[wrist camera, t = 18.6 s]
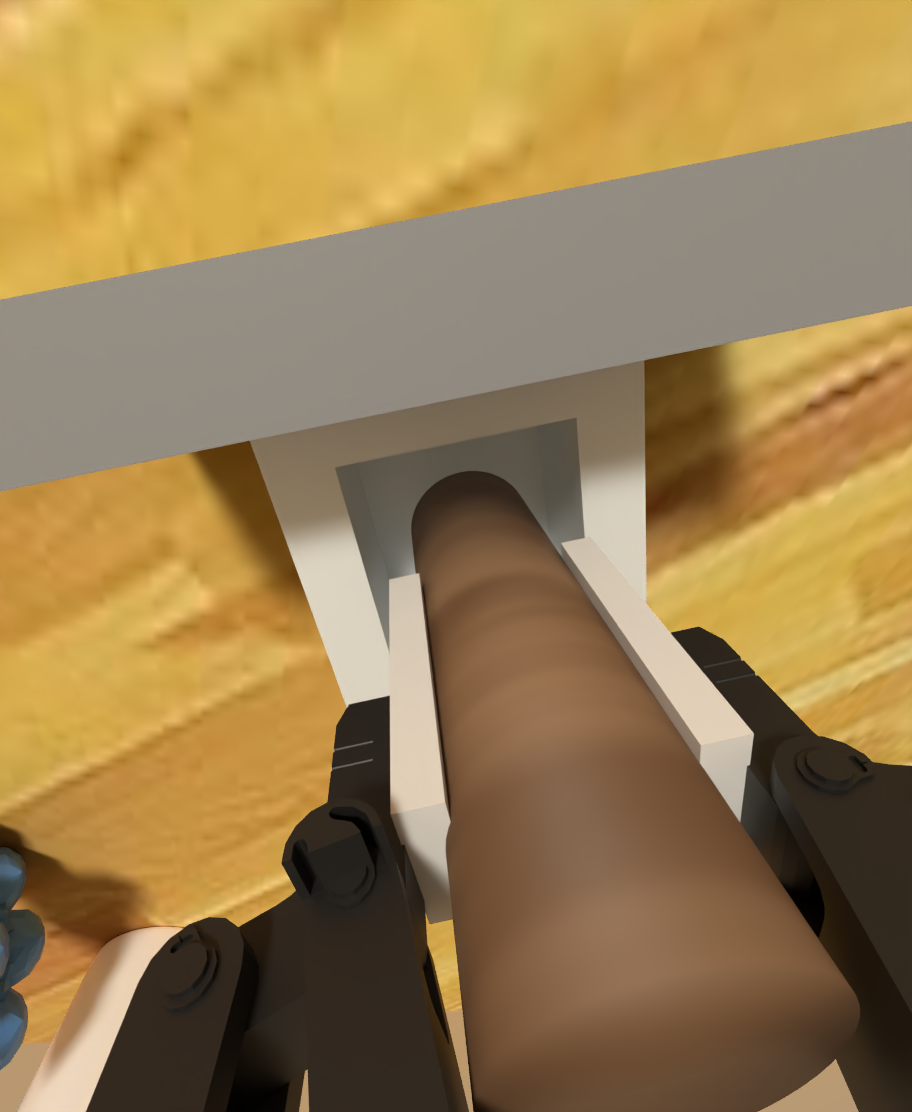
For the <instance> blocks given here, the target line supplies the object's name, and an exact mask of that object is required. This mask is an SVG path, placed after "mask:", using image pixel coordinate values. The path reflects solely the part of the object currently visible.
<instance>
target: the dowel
mask: <svg viewBox="0 0 912 1112" xmlns="http://www.w3.org/2000/svg"><path fill="white" fill-rule="evenodd" d="M411 535H412V544H413V554H414V563H415V572H416V574H418V573H419V575H420V579H421V583H422V588H423V596H424V604H425V613H426V621H427V629H428V638H429V646H430V654H431V663H432V671H433V679H434V688H435V696H436V704H437V712H438V721H439V729H440V737H441V746H442V754H443V762H444V771H445V779H446V787H447V796H448V804H449V812H450V821H451V823H450V825H449V828H448V832H447V837H446V860H447V869H448V879H449V888H450V897H451V907H452V916H453V925H454V935H455V944H456V953H457V962H458V972H459V981H460V990H461V1000H462V1009H463V1017H464V1027H465V1037H466V1045H467V1055H468V1064H469V1073H470V1083H471V1092H472V1102H473V1111H474V1112H757V1111H760V1110H762V1109H764V1108H766V1107H768V1106H770V1105H772V1104H773V1103H775V1102H777V1101H779V1100H781V1099H783V1098H784V1097H786V1096H788V1095H789V1094H791V1093H792V1092H794V1091H796V1090H797V1089H799V1088H800V1087H802V1086H803V1085H805V1084H806V1083H808V1082H809V1081H810V1080H812V1079H813V1078H814V1077H816V1076H817V1075H818V1074H820V1073H821V1072H822V1071H823V1070H824V1069H825V1068H826V1067H827V1066H829V1065H830V1064H831V1063H832V1062H833V1061H834V1060H835V1059H836V1058H837V1057H838V1056H839V1055H840V1054H841V1053H842V1051H843V1050H844V1049H845V1047H846V1046H847V1045H848V1043H849V1042H850V1041H851V1039H852V1037H853V1035H854V1033H855V1031H856V1029H857V1026H858V1023H859V1019H860V1004H859V1002H858V999H857V996H856V994H855V993H854V991H853V990H852V988H851V987H850V985H849V984H848V982H847V981H846V979H845V978H844V976H843V975H842V973H841V972H840V970H839V969H838V967H837V966H836V964H835V963H834V961H833V960H832V958H831V957H830V955H829V954H828V953H827V951H826V950H825V948H824V947H823V945H822V944H821V942H820V941H819V939H818V938H817V936H816V935H815V933H814V932H813V930H812V929H811V927H810V926H809V924H808V923H807V921H806V920H805V918H804V917H803V915H802V914H801V912H800V911H799V909H798V908H797V906H796V905H795V903H794V902H793V900H792V899H791V897H790V896H789V894H788V893H787V891H786V890H785V889H784V887H783V886H782V884H781V883H780V881H779V880H778V878H777V877H776V875H775V874H774V872H773V871H772V869H771V868H770V866H769V865H768V863H767V862H766V860H765V859H764V857H763V856H762V854H761V853H760V851H759V850H758V848H757V847H756V845H755V844H754V842H753V841H752V839H751V838H750V836H749V835H748V833H747V832H746V830H745V829H744V828H743V826H742V825H741V823H740V822H739V820H738V819H737V817H736V816H735V814H734V813H733V811H732V810H731V808H730V807H729V805H728V804H727V802H726V801H725V799H724V798H723V796H722V795H721V793H720V792H719V790H718V789H717V787H716V786H715V784H714V783H713V781H712V780H711V778H710V777H709V775H708V774H707V772H706V771H705V770H704V768H703V767H702V766H701V764H700V763H699V761H698V760H697V758H696V757H695V755H694V754H693V752H692V751H691V749H690V748H689V746H688V745H687V743H686V742H685V740H684V739H683V737H682V736H681V734H680V733H679V731H678V730H677V728H676V727H675V726H674V724H673V723H672V721H671V720H670V718H669V717H668V715H667V714H666V712H665V711H664V709H663V708H662V706H661V705H660V703H659V702H658V700H657V699H656V697H655V696H654V694H653V693H652V691H651V690H650V688H649V687H648V685H647V684H646V682H645V681H644V679H643V678H642V676H641V675H640V673H639V672H638V670H637V669H636V667H635V666H634V664H633V663H632V661H631V660H630V658H629V657H628V655H627V654H626V652H625V651H624V649H623V648H622V646H621V645H620V643H619V642H618V640H617V639H616V638H615V636H614V635H613V633H612V632H611V630H610V629H609V627H608V626H607V624H606V623H605V621H604V620H603V618H602V617H601V615H600V614H599V612H598V611H597V609H596V608H595V606H594V605H593V603H592V602H591V600H590V599H589V597H588V596H587V594H586V593H585V591H584V590H583V588H582V587H581V585H580V584H579V582H578V581H577V579H576V578H575V576H574V575H573V573H572V572H571V570H570V569H569V567H568V566H567V564H566V563H565V561H564V560H563V558H562V557H561V555H560V554H559V552H558V551H557V549H556V548H555V546H554V545H553V543H552V542H551V540H550V539H549V537H548V536H547V534H546V533H545V531H544V530H543V528H542V527H541V525H540V524H539V522H538V521H537V519H536V518H535V516H534V515H533V514H532V512H531V511H530V509H529V508H528V506H527V505H526V503H525V502H524V500H523V499H522V497H521V496H520V494H519V493H518V492H517V490H516V489H515V488H514V487H513V486H512V485H511V484H510V483H508V482H507V481H506V480H504V479H502V478H501V477H499V476H496V475H494V474H491V473H487V472H481V471H465V472H459V473H455V474H452V475H450V476H447V477H445V478H443V479H441V480H440V481H438V482H436V483H435V484H434V485H433V486H431V487H430V488H429V489H428V490H427V491H426V492H425V493H424V495H423V496H422V497H421V499H420V500H419V502H418V504H417V506H416V508H415V510H414V513H413V517H412V523H411Z"/></svg>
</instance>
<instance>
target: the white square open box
mask: <svg viewBox="0 0 912 1112" xmlns="http://www.w3.org/2000/svg"><path fill="white" fill-rule="evenodd" d="M250 443H251V446H252V449H253V451H254V454H255V457H256V460H257V462H258V465H259V468H260V471H261V473H262V476H263V479H264V482H265V484H266V487H267V490H268V493H269V495H270V498H271V501H272V504H273V506H274V509H275V512H276V515H277V517H278V520H279V523H280V526H281V528H282V531H283V534H284V536H285V539H286V542H287V545H288V547H289V550H290V553H291V556H292V558H293V561H294V564H295V567H296V569H297V572H298V575H299V578H300V580H301V583H302V586H303V589H304V591H305V594H306V597H307V600H308V602H309V605H310V608H311V610H312V613H313V616H314V619H315V621H316V624H317V627H318V630H319V632H320V635H321V638H322V641H323V643H324V646H325V649H326V652H327V654H328V657H329V660H330V663H331V665H332V668H333V671H334V674H335V676H336V679H337V682H338V685H339V687H340V690H341V693H342V695H343V698H344V701H345V704H346V706H347V707H348V705H349V704H353V703H358V702H362V701H367V700H371V699H376V698H381V697H385V696H390V642H389V579H394V578H399V577H403V576H408V575H413V574H416V572H415V563H414V554H413V544H412V535H411V523H412V517H413V513H414V510H415V508H416V506H417V504H418V502H419V500H420V499H421V497H422V496H423V495H424V493H425V492H426V491H427V490H428V489H429V488H430V487H431V486H433V485H434V484H435V483H436V482H438V481H440V480H441V479H443V478H445V477H447V476H450V475H452V474H455V473H459V472H465V471H481V472H487V473H491V474H494V475H496V476H499V477H501V478H502V479H504V480H506V481H507V482H508V483H510V484H511V485H512V486H513V487H514V488H515V489H516V490H517V492H518V493H519V494H520V496H521V497H522V499H523V500H524V502H525V503H526V505H527V506H528V508H529V509H530V511H531V512H532V514H533V515H534V516H535V518H536V519H537V521H538V522H539V524H540V525H541V527H542V528H543V530H544V531H545V533H546V534H547V536H548V537H549V539H550V540H551V542H552V543H553V545H554V546H555V548H556V549H557V551H558V552H559V554H560V555H561V557H562V550H561V543H564V542H568V541H573V540H578V539H583V538H587V537H591V538H592V539H593V541H594V542H595V543H596V544H597V545H598V547H599V548H600V549H601V550H602V551H603V553H604V554H605V555H606V556H607V557H608V559H609V560H610V561H611V562H612V563H613V565H614V566H615V567H616V568H617V569H618V571H619V572H620V573H621V574H622V575H623V577H624V578H625V579H626V580H627V581H628V583H629V584H630V585H631V586H632V587H633V589H634V590H635V591H636V592H637V593H638V595H639V596H640V597H641V598H642V599H643V601H644V602H645V603H646V496H645V379H644V360H643V361H638V362H633V363H628V364H624V365H619V366H614V367H609V368H604V369H599V370H594V371H589V372H584V373H579V374H574V375H570V376H565V377H560V378H555V379H550V380H545V381H540V382H535V383H530V384H525V385H520V386H516V387H511V388H506V389H501V390H496V391H491V392H486V393H481V394H476V395H471V396H466V397H461V398H457V399H452V400H447V401H442V402H437V403H432V404H427V405H422V406H417V407H412V408H407V409H403V410H398V411H393V412H388V413H383V414H378V415H373V416H368V417H363V418H358V419H353V420H349V421H344V422H339V423H334V424H329V425H324V426H319V427H314V428H309V429H304V430H299V431H295V432H290V433H285V434H280V435H275V436H270V437H265V438H260V439H255V440H250Z"/></svg>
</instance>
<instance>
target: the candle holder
mask: <svg viewBox="0 0 912 1112" xmlns="http://www.w3.org/2000/svg"><path fill="white" fill-rule="evenodd" d="M182 929H183V928H181V927H169V926H160V927H148V928H142V929H137V930H133V931H130V932H127V933H124V934H122V935H119V936H117V937H115V938H114V939H112V940H111V941H109V942H108V943H106V944H105V945H104V946H103V947H102V948H101V949H100V951H99V952H98V953H97V955H96V956H95V958H94V960H93V962H92V963H91V965H90V967H89V969H88V971H87V973H86V975H85V977H84V979H83V981H82V982H81V984H80V986H79V988H78V990H77V992H76V994H75V996H74V998H73V1000H72V1002H71V1004H70V1006H69V1008H68V1010H67V1012H66V1014H65V1016H64V1018H63V1020H62V1022H61V1024H60V1026H59V1028H58V1030H57V1032H56V1034H55V1036H54V1038H53V1040H52V1042H51V1044H50V1046H49V1048H48V1050H47V1052H46V1054H45V1056H44V1058H43V1060H42V1062H41V1064H40V1066H39V1068H38V1070H37V1072H36V1074H35V1076H34V1078H33V1080H32V1082H31V1084H30V1086H29V1088H28V1089H27V1091H26V1093H25V1095H24V1097H23V1099H22V1101H21V1103H20V1106H19V1107H18V1110H17V1111H16V1112H86V1110H87V1108H88V1105H89V1103H90V1100H91V1098H92V1095H93V1093H94V1090H95V1088H96V1085H97V1083H98V1080H99V1078H100V1075H101V1073H102V1071H103V1068H104V1066H105V1063H106V1061H107V1058H108V1056H109V1053H110V1051H111V1048H112V1046H113V1043H114V1041H115V1038H116V1036H117V1034H118V1031H119V1029H120V1026H121V1024H122V1021H123V1019H124V1016H125V1014H126V1011H127V1009H128V1006H129V1004H130V1002H131V999H132V997H133V994H134V992H135V989H136V987H137V984H138V982H139V980H140V978H141V977H142V975H143V973H144V971H145V969H146V968H147V966H148V964H149V962H150V960H151V959H152V958H153V957H154V955H155V954H156V953H157V952H158V951H159V950H160V949H161V947H162V946H163V945H164V944H165V943H166V942H167V941H168V940H169V939H170V938H171V937H172V936H174V935H175V934H177V933H178V932H179V931H181V930H182Z"/></svg>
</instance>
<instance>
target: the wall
mask: <svg viewBox="0 0 912 1112" xmlns="http://www.w3.org/2000/svg"><path fill="white" fill-rule="evenodd" d="M908 306H912V122H907V123H902V124H897V125H892V126H887V127H881V128H876V129H871V130H866V131H861V132H856V133H851V134H846V135H841V136H835V137H830V138H825V139H820V140H815V141H810V142H805V143H800V144H795V145H789V146H784V147H779V148H774V149H769V150H764V151H759V152H754V153H749V154H743V155H738V156H733V157H728V158H723V159H718V160H713V161H708V162H703V163H697V164H692V165H687V166H682V167H677V168H672V169H667V170H662V171H657V172H651V173H646V174H641V175H636V176H631V177H626V178H621V179H616V180H611V181H605V182H600V183H595V184H590V185H585V186H580V187H575V188H570V189H565V190H559V191H554V192H549V193H544V194H539V195H534V196H529V197H524V198H519V199H513V200H508V201H503V202H498V203H493V204H488V205H483V206H478V207H473V208H467V209H462V210H457V211H452V212H447V213H442V214H437V215H432V216H426V217H421V218H416V219H411V220H406V221H401V222H396V223H391V224H386V225H380V226H375V227H370V228H365V229H360V230H355V231H350V232H345V233H340V234H334V235H329V236H324V237H319V238H314V239H309V240H304V241H299V242H294V243H288V244H283V245H278V246H273V247H268V248H263V249H258V250H253V251H248V252H242V253H237V254H232V255H227V256H222V257H217V258H212V259H207V260H202V261H196V262H191V263H186V264H181V265H176V266H171V267H166V268H161V269H156V270H150V271H145V272H140V273H135V274H130V275H125V276H120V277H115V278H110V279H104V280H99V281H94V282H89V283H84V284H79V285H74V286H69V287H64V288H58V289H53V290H48V291H43V292H38V293H33V294H28V295H23V296H18V297H12V298H7V299H2V300H0V491H5V490H10V489H15V488H19V487H24V486H29V485H34V484H39V483H44V482H49V481H54V480H59V479H64V478H69V477H74V476H78V475H83V474H88V473H93V472H98V471H103V470H108V469H113V468H118V467H123V466H128V465H132V464H137V463H142V462H147V461H152V460H157V459H162V458H167V457H172V456H177V455H182V454H186V453H191V452H196V451H201V450H206V449H211V448H216V447H221V446H226V445H231V444H236V443H240V442H245V441H250V440H255V439H260V438H265V437H270V436H275V435H280V434H285V433H290V432H295V431H299V430H304V429H309V428H314V427H319V426H324V425H329V424H334V423H339V422H344V421H349V420H353V419H358V418H363V417H368V416H373V415H378V414H383V413H388V412H393V411H398V410H403V409H407V408H412V407H417V406H422V405H427V404H432V403H437V402H442V401H447V400H452V399H457V398H461V397H466V396H471V395H476V394H481V393H486V392H491V391H496V390H501V389H506V388H511V387H516V386H520V385H525V384H530V383H535V382H540V381H545V380H550V379H555V378H560V377H565V376H570V375H574V374H579V373H584V372H589V371H594V370H599V369H604V368H609V367H614V366H619V365H624V364H628V363H633V362H638V361H643V360H648V359H653V358H658V357H663V356H668V355H673V354H678V353H682V352H687V351H692V350H697V349H702V348H707V347H712V346H717V345H722V344H727V343H732V342H737V341H741V340H746V339H751V338H756V337H761V336H766V335H771V334H776V333H781V332H786V331H791V330H795V329H800V328H805V327H810V326H815V325H820V324H825V323H830V322H835V321H840V320H845V319H849V318H854V317H859V316H864V315H869V314H874V313H879V312H884V311H889V310H894V309H899V308H903V307H908Z"/></svg>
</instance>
